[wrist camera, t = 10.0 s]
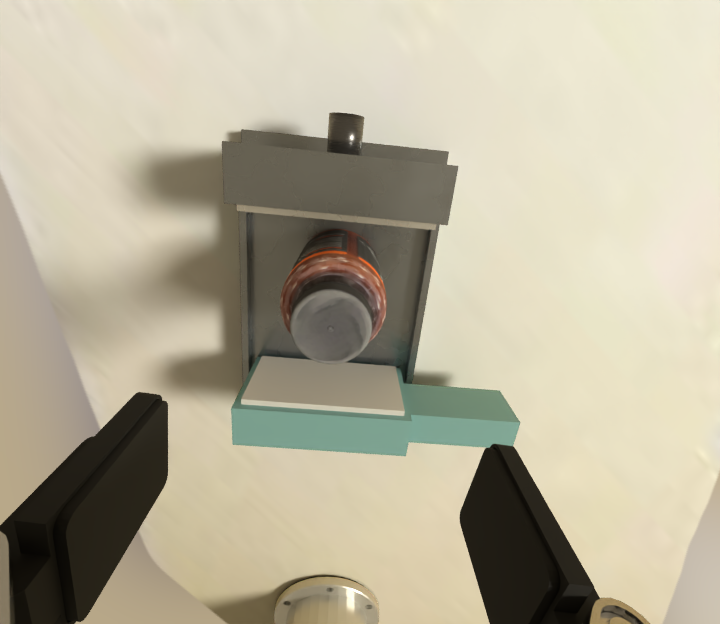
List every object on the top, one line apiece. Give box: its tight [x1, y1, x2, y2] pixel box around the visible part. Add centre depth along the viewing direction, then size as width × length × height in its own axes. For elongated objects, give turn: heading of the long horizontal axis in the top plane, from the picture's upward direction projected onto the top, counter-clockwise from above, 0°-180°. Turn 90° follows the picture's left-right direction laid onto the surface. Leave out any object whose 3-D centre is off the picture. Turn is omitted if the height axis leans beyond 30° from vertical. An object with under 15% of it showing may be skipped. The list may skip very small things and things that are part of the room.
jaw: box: [231, 356, 520, 456], centre depth 28 cm, size 3×20×7 cm, turn 84°
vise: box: [222, 113, 458, 384], centre depth 26 cm, size 23×14×8 cm, turn 174°
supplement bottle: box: [280, 229, 387, 364], centre depth 23 cm, size 6×6×11 cm
